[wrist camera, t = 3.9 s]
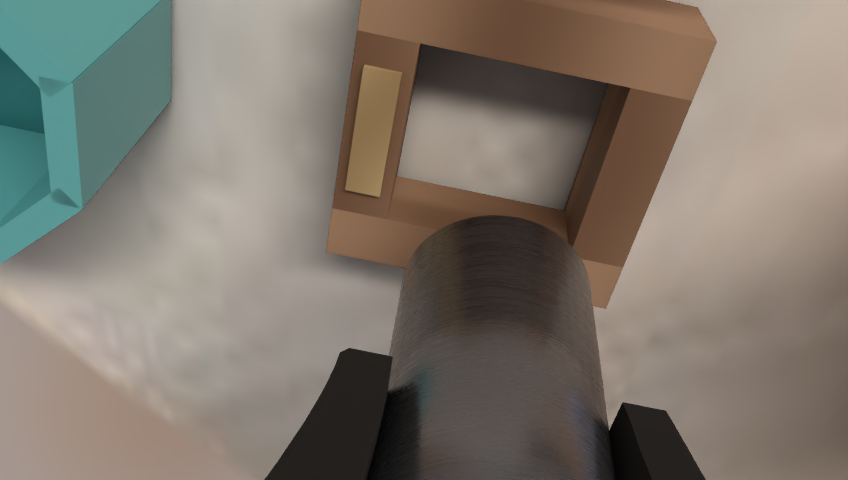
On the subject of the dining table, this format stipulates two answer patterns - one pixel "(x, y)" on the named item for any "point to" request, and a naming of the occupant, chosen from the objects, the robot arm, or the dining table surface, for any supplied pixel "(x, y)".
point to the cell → (494, 361)
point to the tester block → (535, 47)
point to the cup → (73, 103)
